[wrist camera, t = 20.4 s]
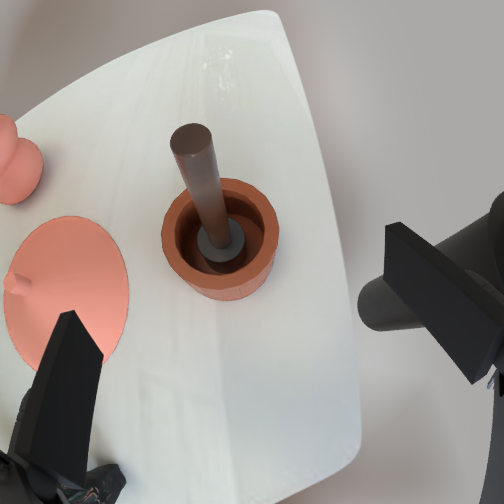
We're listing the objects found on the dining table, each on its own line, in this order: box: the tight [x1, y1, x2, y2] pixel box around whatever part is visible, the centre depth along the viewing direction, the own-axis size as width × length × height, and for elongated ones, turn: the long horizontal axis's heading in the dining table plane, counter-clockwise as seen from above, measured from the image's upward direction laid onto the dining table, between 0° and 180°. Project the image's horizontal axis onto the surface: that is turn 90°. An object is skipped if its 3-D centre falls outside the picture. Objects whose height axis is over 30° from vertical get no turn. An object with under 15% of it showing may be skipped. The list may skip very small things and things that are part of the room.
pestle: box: [170, 123, 246, 273], centre depth 23 cm, size 4×4×20 cm
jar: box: [161, 178, 279, 301], centre depth 30 cm, size 10×10×8 cm
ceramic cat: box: [57, 464, 126, 504], centre depth 16 cm, size 20×6×20 cm, turn 113°
